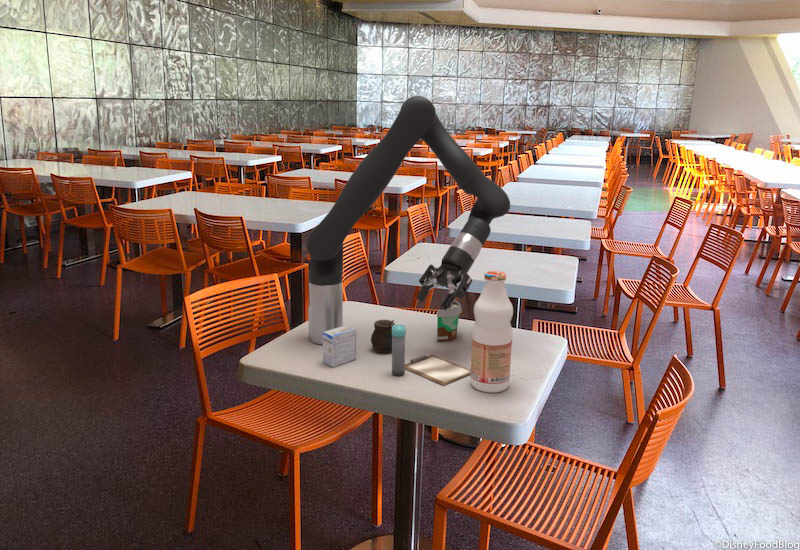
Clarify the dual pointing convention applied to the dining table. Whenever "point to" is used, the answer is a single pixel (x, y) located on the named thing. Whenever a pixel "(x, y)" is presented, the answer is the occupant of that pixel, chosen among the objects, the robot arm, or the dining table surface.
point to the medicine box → (339, 346)
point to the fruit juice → (492, 336)
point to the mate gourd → (382, 336)
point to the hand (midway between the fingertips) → (430, 304)
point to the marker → (398, 350)
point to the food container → (448, 322)
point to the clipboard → (437, 369)
